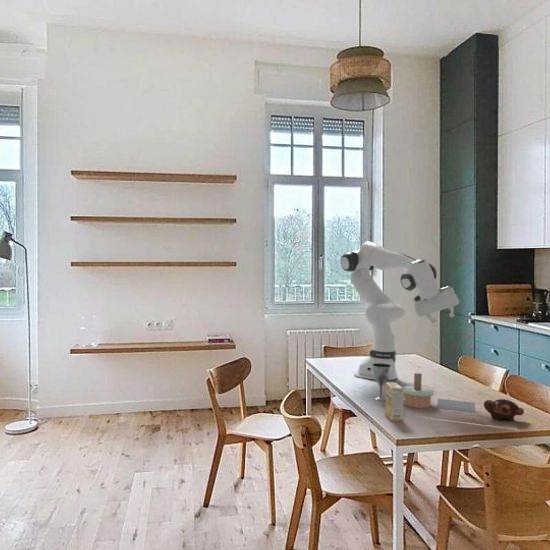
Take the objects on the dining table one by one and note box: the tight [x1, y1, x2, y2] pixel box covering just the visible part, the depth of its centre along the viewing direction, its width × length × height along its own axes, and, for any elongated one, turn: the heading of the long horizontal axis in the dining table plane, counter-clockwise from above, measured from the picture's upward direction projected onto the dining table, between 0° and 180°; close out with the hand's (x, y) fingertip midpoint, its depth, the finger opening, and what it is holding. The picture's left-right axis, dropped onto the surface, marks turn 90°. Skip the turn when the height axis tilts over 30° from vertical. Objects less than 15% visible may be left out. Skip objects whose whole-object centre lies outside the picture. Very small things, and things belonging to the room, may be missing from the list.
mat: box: [436, 398, 476, 413], centre depth 210 cm, size 15×15×1 cm
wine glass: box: [372, 363, 391, 402], centre depth 220 cm, size 8×8×15 cm
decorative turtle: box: [483, 398, 525, 422], centre depth 193 cm, size 10×15×8 cm, turn 94°
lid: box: [402, 372, 435, 397], centre depth 210 cm, size 13×13×8 cm
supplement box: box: [384, 382, 404, 422], centre depth 192 cm, size 8×5×13 cm, turn 5°
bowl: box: [403, 393, 432, 409], centre depth 210 cm, size 11×11×6 cm
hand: (443, 319), depth 228 cm, fingers open, 8 cm apart
